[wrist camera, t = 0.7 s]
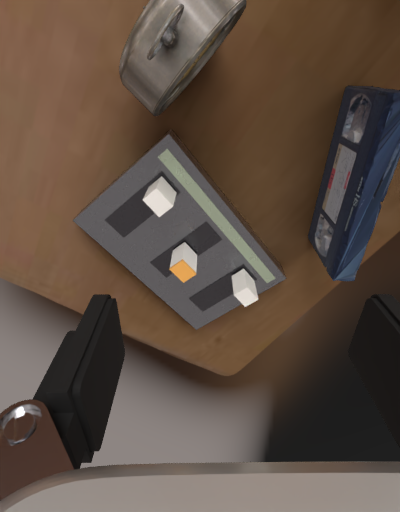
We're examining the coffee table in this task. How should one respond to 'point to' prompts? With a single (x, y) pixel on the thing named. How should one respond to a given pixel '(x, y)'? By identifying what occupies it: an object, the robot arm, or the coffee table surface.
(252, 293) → the block
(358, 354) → the robot arm
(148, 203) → the breaker
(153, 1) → the dial indicator gauge
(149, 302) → the coffee table surface
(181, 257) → the block
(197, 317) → the breaker panel
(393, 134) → the vhs cassette tape
